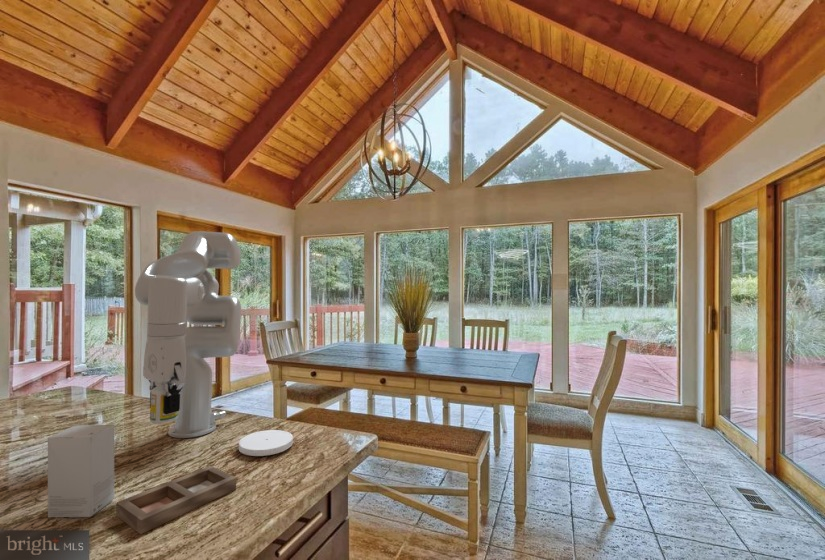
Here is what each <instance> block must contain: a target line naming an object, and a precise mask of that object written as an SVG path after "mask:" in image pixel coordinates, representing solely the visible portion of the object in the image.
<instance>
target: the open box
mask: <svg viewBox="0 0 825 560" xmlns="http://www.w3.org/2000/svg"><path fill="white" fill-rule="evenodd" d="M236 490H237V476H234V475H231V474H230V473H227V472H225V471H223V470H221V469H219V468H217V467H214V466H212V465H208V466H206V467H204V468H203V467H202V468H200V469H198V470H195V471H193V472H190V473H188V474H185V475H183V476H180V477H178V478H175V479H173V480H170V481H167V482H165V483H162V484H160V485H157V486H155V487H152V488H149V489H148V490H145V491H144V490H143V491H142V492H140V493H137V494H135V495H132V496H130V497H127V498H124V499H121V500H119V501H116V504H115V505H116V506H115V516H116V517H117V518H119V520H120V521H122V522H124V523H125V524H127V526H129V527H130V528H132V529H133V530H134V531H135V532H137V533H138V534H139V535H142V534H145V533H147V532H148V531H150V530H153V529H155V528H158V527H159V526H161V525H163V524H165V523H167V522H170V521H171V520H174V519H176V518H179V517H180V516H182V515H184V514H185V515H186V514H187V513H189V512H190V511H194V510H195V509H197V508H200V507H201V506H204V505H206V504H208V503H210V502H212V501H214V500H217V499H218V498H220V497H223V496H225V495H226V494H229V493H231V492H232V491H236Z"/></svg>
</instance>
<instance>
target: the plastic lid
mask: <svg viewBox="0 0 825 560" xmlns="http://www.w3.org/2000/svg"><path fill="white" fill-rule="evenodd" d="M293 443H294V436H293V434H292V433H291V432H289V431H286V430H278V429H268V430H267V429H266V430H260V431H255V432H252V433H249V434H247V435H245V436H243V437H242V438H241V439H240V440H239V441H238V451H239V452H240V453H241V454H243V455H244V456H253V457H264V456H271V455H276V454H279V453H282V452H285V451H287V450H288V449H290V448H291V447H292V446H293Z"/></svg>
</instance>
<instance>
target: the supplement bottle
mask: <svg viewBox="0 0 825 560" xmlns="http://www.w3.org/2000/svg"><path fill="white" fill-rule="evenodd" d="M174 380H175V378H171V379H170V381H174ZM155 385H156V387H155V388H153V389H152V391H151V404H150V403H149V409H150V411H149V422H150V423H152V424H155V425H158V424H160V425H161V424H166V423H171V422H173V421H174V422H175V419H177V417H178V411H177V412H173V413H169V414H164V413H163V407H164V396H166V391H165V384H159V383H156V382H155ZM173 385H175V383H174V384H170V389H171V387H172V386H173Z"/></svg>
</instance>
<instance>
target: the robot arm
mask: <svg viewBox="0 0 825 560" xmlns="http://www.w3.org/2000/svg"><path fill="white" fill-rule="evenodd" d="M241 259H242V252H241V249H240V246H239V244H238V242H237V240H236V238H235V236H233V235H232V234H230V233H227V232H219V231H204V230H202V231H200V230H198V231H191V232H189V233H187V234H186V235H185V237H183V240H182V241H181V243H180V245H179V247H178V249H177V250H176V252H175V253H172V254H168V255H166V256H164V257H161V258H158V259H156V260H154V261H151V262H150V263H149V264H147V265H146V266H145V268H144V269H143V271H142V272H141V273H140V275H139V277H138V278H137V282H136V284H135V287H134V295H135V298H136V300H137V301H138V302H139V304H141V305H144V306H147V326H146V329H147V330H146V331H147V332H146V338H147V340H146V343H145V350H144V358H143V370H142V374H143V375H142V376H143V377H144V379H145V380H148V382H149V387H148V388H149V391H150V392H149V405H150V404H151V391H152V389H153V388H155V387H156V385H155V382H156V383H159V384H165V391H166V396H164V407H163V413H164V414H169V413H173V412H177V411H178V417H177V419H175V420H174V425H173V426H171V427H170V428H169V429H168V435H169V436H170V437H172V438H177V439H188V438H196V437H201V436H205V435H207V434H209V433H212V432H213V431H215V430H216V429H217V423H216V421H217V419H221V418H222V419H223V418H225V417H226V416H227V413H226V412H227V411H225V410H223V411H212V393H213V370H212V367H211V365H210V364H209V363H208V361H206V359H208V358H228V357H229V358H230V357H233V356H234V355H236V353H237V351H238V350H239V349H238V348H239V342H240V334H241V333H240V332H241V331H240V330H241V319H242V305H241V301H240V300H239V298H237V296H233V295H219V290H220V289H219V288H220V285H219V282H218V280H217V279H216V278H215V277H214V275H213V274H212V273H211V272H209V271H208V270H207V269H217V270H218V269H221V270H223V269H225V270H233V269H234V270H235V269H237V268H238V267H239V266H240V263H241V262H242V261H241ZM187 322H188V323H189V324H191V325H194V326H187ZM195 325H197V326H195ZM171 378H175V380H174V381H170V379H171ZM174 383H175V384H174ZM170 384H174V385H173V386H172V387H171V389H170Z"/></svg>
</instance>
